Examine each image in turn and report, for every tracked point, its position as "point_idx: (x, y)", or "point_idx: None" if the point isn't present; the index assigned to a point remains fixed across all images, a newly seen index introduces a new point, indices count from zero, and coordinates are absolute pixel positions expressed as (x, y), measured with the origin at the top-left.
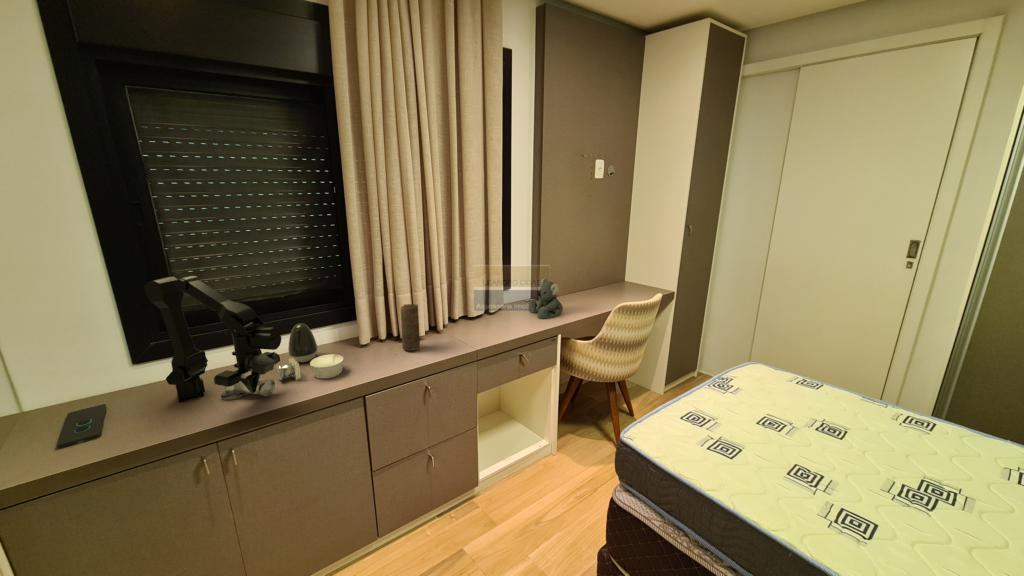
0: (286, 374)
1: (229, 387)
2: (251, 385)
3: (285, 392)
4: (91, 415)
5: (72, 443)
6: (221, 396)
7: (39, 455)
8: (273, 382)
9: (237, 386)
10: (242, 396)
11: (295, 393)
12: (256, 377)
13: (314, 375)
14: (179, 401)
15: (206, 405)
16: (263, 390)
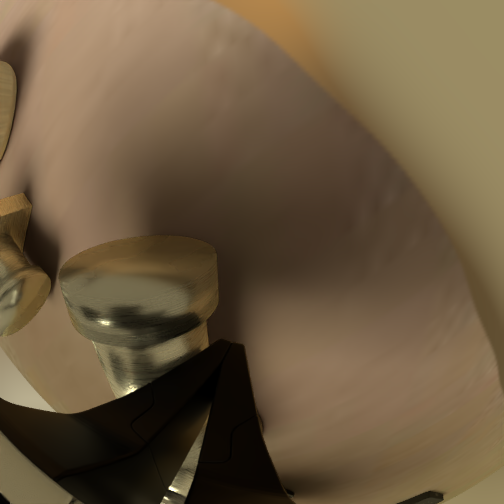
0: (15, 260)
1: None
2: (249, 410)
3: (116, 166)
4: None
5: (439, 495)
6: None
7: (451, 494)
8: (77, 260)
9: None
10: None
11: (120, 90)
12: (136, 442)
13: (2, 145)
14: (293, 496)
15: (310, 454)
16: (202, 270)
